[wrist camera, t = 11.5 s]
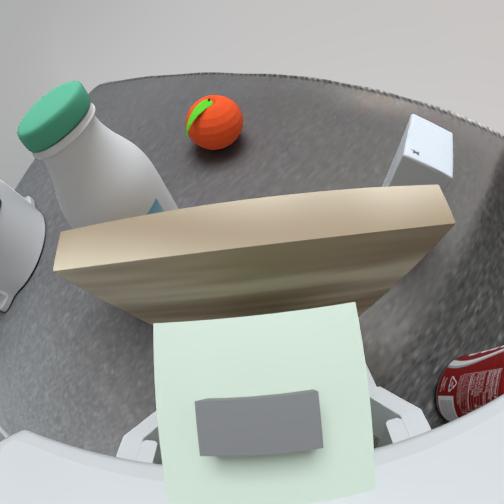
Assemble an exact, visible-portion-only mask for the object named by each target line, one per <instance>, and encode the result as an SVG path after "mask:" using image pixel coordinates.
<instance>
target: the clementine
mask: <svg viewBox="0 0 504 504" xmlns="http://www.w3.org/2000/svg"><path fill="white" fill-rule="evenodd" d="M242 127H243V116H242V113H241V111H240V109H239V107H238V106H237V105H236V103H235V102H233V101H232V100H231V99H229V98H227V97H225V96H220V95H210V96H206V97H203V98H201V99H200V100H198V101H197V102H195V103H194V104H193V105H192V107H191V108H190V110H189V112H188V113H187V118H186V139H187V135H189V137H190V138H191V139H192V141H193V142H194V143H196V144H197V145H198V146H200V147H202V148H206V149H209V150H217V149H222V148H225V147H227V146H229V145H231V144H232V143H233V142H234V141H235V140H236V139H237V138H238V137H239V135H240V132H241V130H242Z"/></svg>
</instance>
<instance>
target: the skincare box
mask: <svg viewBox="0 0 504 504" xmlns="http://www.w3.org/2000/svg"><path fill="white" fill-rule="evenodd" d="M452 178H453V134H452V133H451V132H449V131H447V130H445V129H443V128H441V127H439V126H437V125H435V124H433V123H431V122H429V121H427V120H425V119H423V118H421V117H419V116H417V115H414V114H412V115H411V116H410V119H409V122H408V124H407V127H406V130H405V132H404V135H403V137H402V140H401V142H400V145H399V147H398V150H397V152H396V155H395V157H394V159H393V162H392V164H391V167H390V169H389V171H388V174H387V176H386V178H385V180H384V183H383V185H382V187H391V186H412V185H439V186H440V188H441V190H442V193H443V192H444V190H445V189H446V187H447V186H448V184H449V183H450V181H451V180H452Z"/></svg>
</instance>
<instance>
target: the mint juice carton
mask: <svg viewBox="0 0 504 504" xmlns="http://www.w3.org/2000/svg"><path fill="white" fill-rule="evenodd" d="M153 341H154V376H155V394H156V409H157V420H158V431H159V440H160V449H161V457H162V464H163V471H164V478H165V484H166V490H167V496H168V501H169V503H171V504H309V503H316V502H322V501H328V500H333V499H338V498H343V497H348V496H352V495H356V494H360V493H364V492H368V491H372V490H375V469H374V445H373V429H372V417H371V406H370V396H369V387H368V379H367V371H366V363H365V356H364V349H363V343H362V337H361V331H360V325H359V319H358V314H357V308H356V303H355V302H351V303H345V304H339V305H332V306H325V307H319V308H312V309H304V310H297V311H289V312H281V313H273V314H264V315H255V316H245V317H235V318H224V319H213V320H200V321H186V322H170V323H153Z"/></svg>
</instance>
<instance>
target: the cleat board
mask: <svg viewBox="0 0 504 504" xmlns="http://www.w3.org/2000/svg"><path fill="white" fill-rule="evenodd" d="M454 225H455V220H454V218H453V215H452V213H451V211H450V208H449V206H448V204H447V201H446V199H445V197H444V195H443V193H442V190H441V188H440V186H439V185H412V186H391V187H374V188H359V189H345V190H333V191H322V192H311V193H301V194H291V195H282V196H273V197H264V198H256V199H248V200H240V201H232V202H225V203H218V204H211V205H204V206H197V207H190V208H184V209H178V210H172V211H165V212H160V213H154V214H148V215H142V216H137V217H131V218H126V219H121V220H115V221H110V222H105V223H100V224H95V225H90V226H86V227H81V228H76V229H72V230H67V231H63V232H61V234H60V238H59V242H58V247H57V252H56V257H55V262H54V268H53V271H54V272H55V273H57V274H58V275H60V276H62V277H63V278H65V279H67V280H68V281H70V282H72V283H73V284H75V285H77V286H78V287H80V288H82V289H84V290H85V291H87V292H89V293H91V294H92V295H94V296H96V297H98V298H100V299H101V300H103V301H105V302H107V303H109V304H111V305H113V306H115V307H116V308H118V309H120V310H122V311H124V312H126V313H128V314H130V315H132V316H134V317H136V318H138V319H140V320H142V321H144V322H146V323H148V324H150V325H153V323H170V322H186V321H200V320H213V319H224V318H235V317H245V316H255V315H264V314H273V313H281V312H289V311H297V310H304V309H312V308H319V307H325V306H332V305H339V304H345V303H351V302H355V303H356V308H357V314H358V317H359V316H360V315H361V314H362V313H364V312H365V311H366V310H367V309H368V308H369V307H371V306H372V305H373V304H374V303H375V302H376V301H378V300H379V299H380V298H381V297H382V296H383V295H384V294H385V293H387V292H388V291H389V290H390V289H391V288H392V287H393V286H394V285H395V284H396V283H398V282H399V281H400V280H401V279H402V278H403V277H404V276H405V275H406V274H407V273H408V272H409V271H410V270H411V269H412V268H413V267H414V266H415V265H416V264H417V263H418V262H419V261H420V260H421V259H422V258H423V257H424V256H425V255H426V254H427V253H428V252H429V251H430V250H431V249H432V248H433V247H434V246H435V245H436V244H437V243H438V242H439V241H440V240H441V239H442V238H443V237H444V236H445V234H446V233H447V232H448V231H449V230H450V229H451V228H452V227H453V226H454ZM373 440H375V435H374V434H373Z"/></svg>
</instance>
